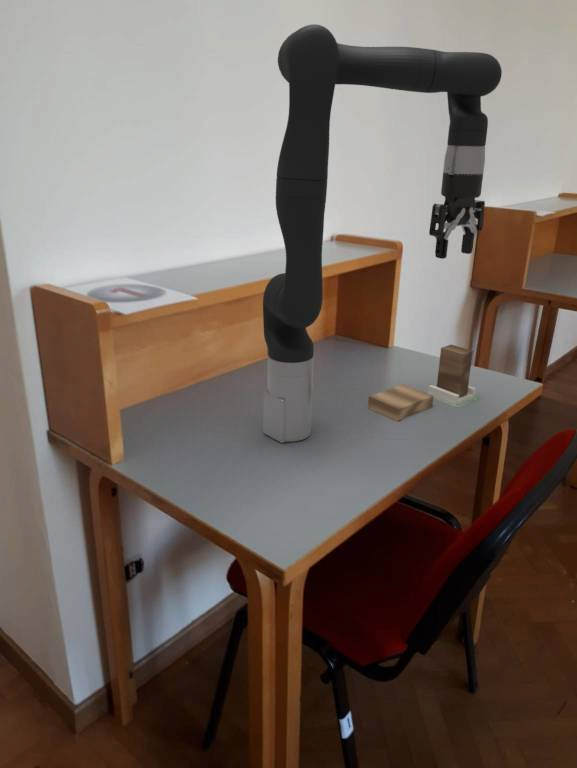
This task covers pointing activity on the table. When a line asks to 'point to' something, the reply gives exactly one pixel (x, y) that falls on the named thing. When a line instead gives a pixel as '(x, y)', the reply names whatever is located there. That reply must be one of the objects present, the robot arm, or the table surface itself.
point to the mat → (460, 403)
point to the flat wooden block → (400, 402)
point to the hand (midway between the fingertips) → (453, 255)
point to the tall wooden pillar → (454, 369)
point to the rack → (451, 395)
